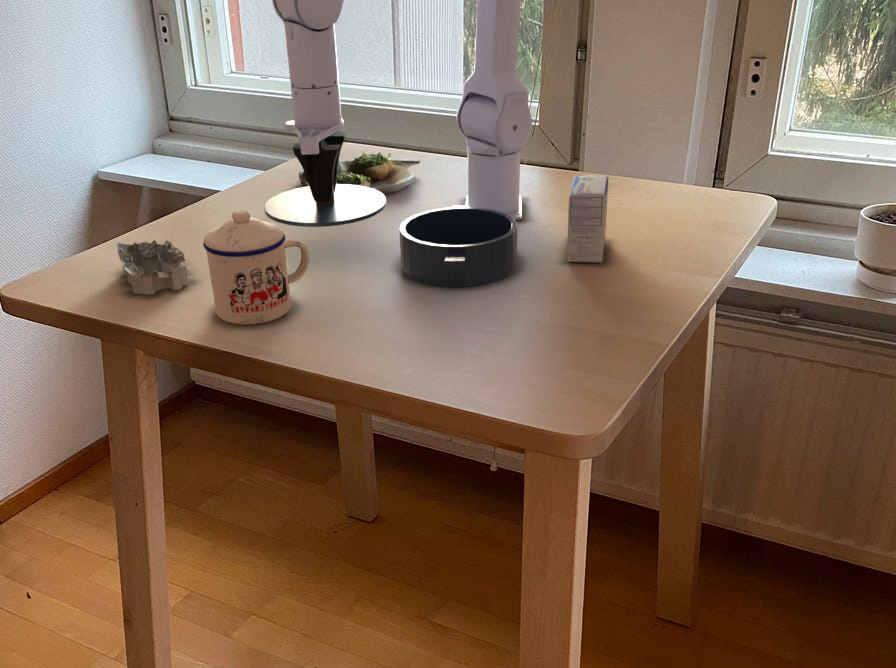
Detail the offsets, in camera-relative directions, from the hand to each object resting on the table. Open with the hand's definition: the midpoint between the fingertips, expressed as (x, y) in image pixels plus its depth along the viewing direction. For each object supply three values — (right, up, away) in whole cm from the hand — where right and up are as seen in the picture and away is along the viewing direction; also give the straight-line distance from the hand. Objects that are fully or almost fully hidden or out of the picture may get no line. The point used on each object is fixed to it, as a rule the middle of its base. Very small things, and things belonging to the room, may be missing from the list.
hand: (324, 197), depth 127 cm
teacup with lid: (-6, -16, -9) cm, 19 cm away
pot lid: (0, -1, +1) cm, 1 cm away
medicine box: (+33, -7, +1) cm, 34 cm away
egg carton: (-21, -11, -1) cm, 24 cm away
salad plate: (+2, +10, +29) cm, 31 cm away
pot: (+17, -9, -1) cm, 19 cm away
